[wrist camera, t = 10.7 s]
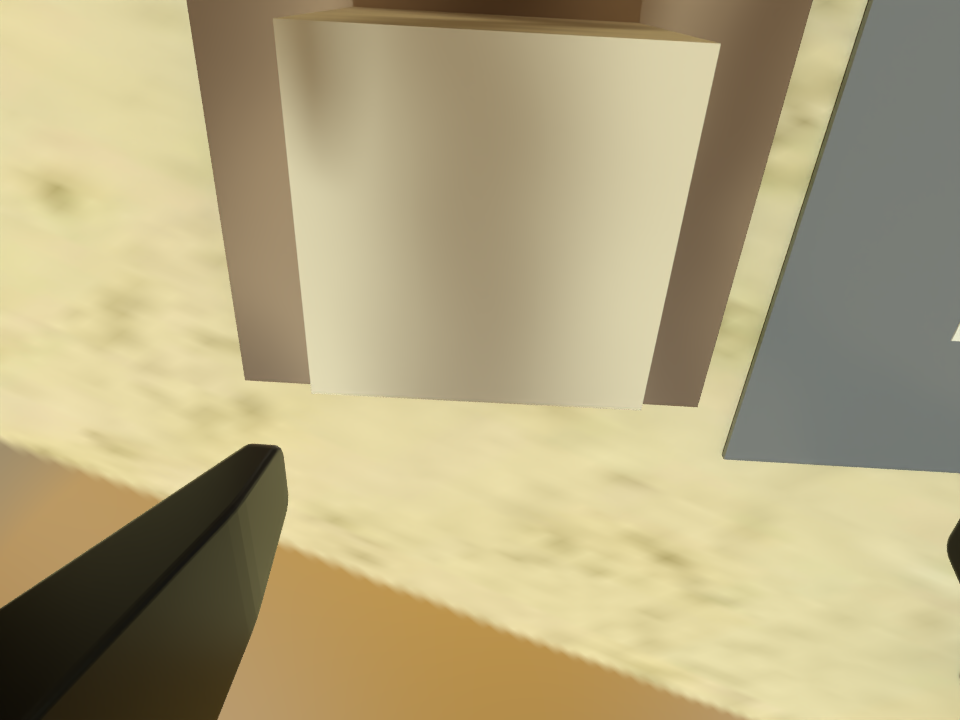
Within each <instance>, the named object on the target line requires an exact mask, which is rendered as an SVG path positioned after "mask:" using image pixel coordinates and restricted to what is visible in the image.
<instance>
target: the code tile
mask: <svg viewBox="0 0 960 720" xmlns="http://www.w3.org/2000/svg"><path fill="white" fill-rule="evenodd" d="M722 457H723V459H727V460H745V461H762V462H779V463H796V464H813V465H830V466H847V467H864V468H881V469H898V470H915V471H932V472H949V473H960V0H869V2H868V5H867V8H866V11H865V14H864V17H863V20H862V24H861V27H860V30H859V33H858V36H857V39H856V42H855V45H854V48H853V51H852V55H851V58H850V61H849V64H848V67H847V70H846V73H845V76H844V79H843V82H842V85H841V89H840V92H839V95H838V98H837V101H836V104H835V107H834V110H833V113H832V116H831V120H830V123H829V126H828V129H827V132H826V135H825V138H824V141H823V144H822V147H821V151H820V154H819V157H818V160H817V163H816V166H815V169H814V172H813V175H812V178H811V182H810V185H809V188H808V191H807V194H806V197H805V200H804V203H803V206H802V209H801V212H800V216H799V219H798V222H797V225H796V228H795V231H794V234H793V237H792V240H791V243H790V247H789V250H788V253H787V256H786V259H785V262H784V265H783V268H782V271H781V274H780V278H779V281H778V284H777V287H776V290H775V293H774V296H773V299H772V302H771V305H770V308H769V312H768V315H767V318H766V321H765V324H764V327H763V330H762V333H761V336H760V339H759V343H758V346H757V349H756V352H755V355H754V358H753V361H752V364H751V367H750V370H749V374H748V377H747V380H746V383H745V386H744V389H743V392H742V395H741V398H740V401H739V405H738V408H737V411H736V414H735V417H734V420H733V423H732V426H731V429H730V432H729V435H728V439H727V442H726V445H725V448H724V451H723V454H722Z"/></svg>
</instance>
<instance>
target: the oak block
mask: <svg viewBox="0 0 960 720" xmlns="http://www.w3.org/2000/svg"><path fill="white" fill-rule="evenodd" d="M273 26H274V36H275V45H276V55H277V65H278V74H279V84H280V94H281V103H282V113H283V122H284V132H285V142H286V151H287V161H288V171H289V180H290V190H291V200H292V209H293V219H294V229H295V238H296V248H297V258H298V267H299V277H300V287H301V296H302V306H303V316H304V325H305V335H306V345H307V354H308V364H309V374H310V383H311V393H314V394H333V395H353V396H372V397H392V398H411V399H430V400H450V401H469V402H488V403H508V404H527V405H547V406H566V407H585V408H605V409H624V410H641V409H642V404H643V399H644V395H645V390H646V386H647V381H648V376H649V372H650V367H651V363H652V358H653V353H654V349H655V344H656V340H657V335H658V330H659V326H660V321H661V317H662V312H663V307H664V303H665V298H666V294H667V289H668V285H669V280H670V275H671V271H672V266H673V262H674V257H675V252H676V248H677V243H678V239H679V234H680V229H681V225H682V220H683V216H684V211H685V206H686V202H687V197H688V193H689V188H690V183H691V179H692V174H693V170H694V165H695V160H696V156H697V151H698V147H699V142H700V137H701V133H702V128H703V124H704V119H705V114H706V110H707V105H708V101H709V96H710V91H711V87H712V82H713V78H714V73H715V68H716V64H717V59H718V55H719V50H720V46H721V44H720V43H716V42H713V41H709V40H705V39H701V38H697V37H693V36H689V35H685V34H681V33H677V32H673V31H669V30H665V29H661V28H657V27H653V26H649V25H645V24H641V23H630V22H613V21H595V20H577V19H560V18H542V17H524V16H507V15H489V14H471V13H454V12H436V11H418V10H401V9H383V8H365V7H348V8H341V9H334V10H327V11H320V12H313V13H306V14H299V15H292V16H286V17H279V18H273Z"/></svg>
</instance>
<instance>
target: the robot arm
mask: <svg viewBox="0 0 960 720" xmlns="http://www.w3.org/2000/svg"><path fill="white" fill-rule="evenodd" d="M287 506H288V488H287V480H286V472H285V463H284V456H283V452H282V450H281V448H279V447H278V446H276V445H264V444H248V445H246V446H244V447H242V448H241V449H239V450H238V451H236V452H235V453H233V454H232V455H230V456H229V457H227V458H226V459H224V460H223V461H221V462H220V463H218V464H217V465H215V466H214V467H212V468H211V469H209V470H208V471H206V472H205V473H203V474H202V475H200V476H199V477H197V478H196V479H194V480H193V481H191V482H190V483H188V484H187V485H185V486H184V487H182V488H181V489H179V490H178V491H176V492H175V493H173V494H172V495H170V496H169V497H167V498H166V499H164V500H163V501H161V502H160V503H158V504H157V505H155V506H154V507H152V508H151V509H149V510H148V511H146V512H145V513H143V514H142V515H140V516H139V517H137V518H136V519H134V520H133V521H131V522H130V523H128V524H127V525H125V526H124V527H122V528H121V529H119V530H118V531H116V532H115V533H113V534H112V535H110V536H109V537H107V538H106V539H104V540H103V541H101V542H100V543H98V544H97V545H95V546H94V547H92V548H91V549H89V550H88V551H86V552H85V553H83V554H82V555H80V556H79V557H77V558H76V559H74V560H73V561H71V562H70V563H68V564H66V565H65V566H63V567H62V568H61V569H59V570H58V571H56V572H54V573H53V574H51V575H50V576H48V577H47V578H45V579H44V580H42V581H41V582H39V583H38V584H36V585H35V586H34V587H32V588H31V589H29V590H27V591H26V592H25V593H23V594H22V595H20V596H18V597H17V598H15V599H14V600H12V601H11V602H9V603H8V604H7V605H5V606H3V607H2V608H0V720H217V719H218V716H219V714H220V712H221V709H222V707H223V704H224V702H225V699H226V697H227V694H228V692H229V689H230V687H231V684H232V682H233V679H234V677H235V674H236V672H237V669H238V667H239V664H240V662H241V659H242V657H243V654H244V652H245V649H246V647H247V644H248V642H249V639H250V636H251V634H252V631H253V628H254V626H255V623H256V620H257V617H258V614H259V610H260V607H261V603H262V600H263V596H264V592H265V589H266V585H267V581H268V578H269V574H270V571H271V567H272V563H273V559H274V556H275V552H276V549H277V545H278V541H279V538H280V534H281V530H282V527H283V523H284V519H285V516H286V512H287ZM947 553H948V557H949V560H950V562H951V565H952V567H953V569H954V571H955V574H956V576H957V578H958V580H959V583H960V519H959V521H958V523H957V524H956V526H955V528H954V529H953V531H952V533H951V535H950V536H949V539H948V542H947Z"/></svg>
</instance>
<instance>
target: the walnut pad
mask: <svg viewBox="0 0 960 720" xmlns="http://www.w3.org/2000/svg"><path fill="white" fill-rule="evenodd" d="M812 1H813V0H187V6H188V13H189V19H190V26H191V32H192V39H193V45H194V52H195V58H196V65H197V71H198V78H199V84H200V91H201V97H202V104H203V110H204V117H205V123H206V130H207V136H208V143H209V149H210V156H211V162H212V169H213V175H214V181H215V188H216V194H217V201H218V207H219V214H220V220H221V227H222V233H223V240H224V246H225V253H226V259H227V266H228V272H229V279H230V285H231V292H232V298H233V305H234V311H235V318H236V324H237V331H238V337H239V344H240V350H241V357H242V363H243V370H244V376H245V380H251V381H268V382H285V383H301V384H311V383H310V374H309V364H308V354H307V345H306V335H305V325H304V316H303V306H302V296H301V287H300V277H299V267H298V258H297V248H296V238H295V229H294V219H293V209H292V200H291V190H290V180H289V171H288V161H287V151H286V142H285V132H284V122H283V113H282V103H281V94H280V84H279V74H278V65H277V55H276V45H275V36H274V26H273V18H279V17H286V16H292V15H299V14H306V13H313V12H320V11H327V10H334V9H341V8H348V7H365V8H383V9H401V10H418V11H436V12H454V13H471V14H489V15H507V16H524V17H542V18H560V19H577V20H595V21H613V22H630V23H641V24H645V25H649V26H653V27H657V28H661V29H665V30H669V31H673V32H677V33H681V34H685V35H689V36H693V37H697V38H701V39H705V40H709V41H713V42H716V43H720V44H721V46H720V50H719V55H718V59H717V64H716V68H715V73H714V78H713V82H712V87H711V91H710V96H709V101H708V105H707V110H706V114H705V119H704V124H703V128H702V133H701V137H700V142H699V147H698V151H697V156H696V160H695V165H694V170H693V174H692V179H691V183H690V188H689V193H688V197H687V202H686V206H685V211H684V216H683V220H682V225H681V229H680V234H679V239H678V243H677V248H676V252H675V257H674V262H673V266H672V271H671V275H670V280H669V285H668V289H667V294H666V298H665V303H664V307H663V312H662V317H661V321H660V326H659V330H658V335H657V340H656V344H655V349H654V353H653V358H652V363H651V367H650V372H649V376H648V381H647V386H646V390H645V395H644V399H643V404H653V405H670V406H687V407H698V403H699V400H700V396H701V393H702V389H703V386H704V382H705V378H706V375H707V371H708V368H709V364H710V361H711V357H712V354H713V350H714V347H715V343H716V340H717V336H718V333H719V329H720V326H721V322H722V318H723V315H724V311H725V308H726V304H727V301H728V297H729V294H730V290H731V287H732V283H733V280H734V276H735V273H736V269H737V266H738V262H739V259H740V255H741V251H742V248H743V244H744V241H745V237H746V234H747V230H748V227H749V223H750V220H751V216H752V213H753V209H754V206H755V202H756V199H757V195H758V192H759V188H760V184H761V181H762V177H763V174H764V170H765V167H766V163H767V160H768V156H769V153H770V149H771V146H772V142H773V139H774V135H775V132H776V128H777V125H778V121H779V117H780V114H781V110H782V107H783V103H784V100H785V96H786V93H787V89H788V86H789V82H790V79H791V75H792V72H793V68H794V65H795V61H796V57H797V54H798V50H799V47H800V43H801V40H802V36H803V33H804V29H805V26H806V22H807V19H808V15H809V12H810V8H811V5H812Z"/></svg>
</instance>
